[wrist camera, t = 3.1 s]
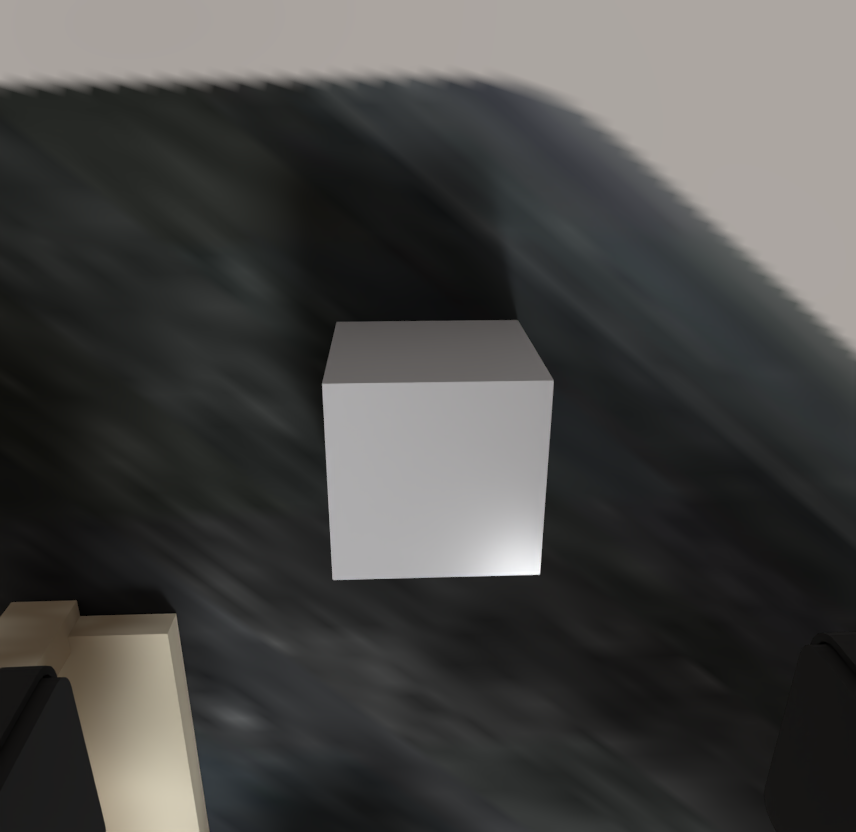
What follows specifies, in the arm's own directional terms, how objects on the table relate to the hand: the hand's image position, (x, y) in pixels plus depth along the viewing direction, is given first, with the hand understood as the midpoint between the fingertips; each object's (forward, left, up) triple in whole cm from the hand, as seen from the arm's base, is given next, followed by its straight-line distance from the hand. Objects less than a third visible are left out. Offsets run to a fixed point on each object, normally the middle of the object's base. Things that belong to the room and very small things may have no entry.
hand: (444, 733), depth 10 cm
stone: (0, +1, -13) cm, 13 cm away
